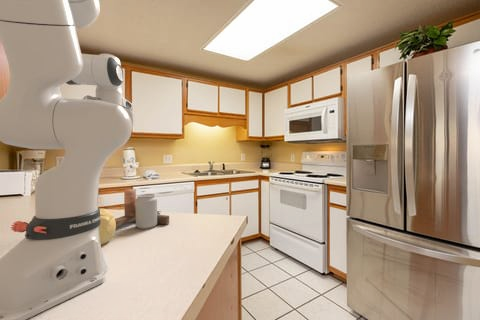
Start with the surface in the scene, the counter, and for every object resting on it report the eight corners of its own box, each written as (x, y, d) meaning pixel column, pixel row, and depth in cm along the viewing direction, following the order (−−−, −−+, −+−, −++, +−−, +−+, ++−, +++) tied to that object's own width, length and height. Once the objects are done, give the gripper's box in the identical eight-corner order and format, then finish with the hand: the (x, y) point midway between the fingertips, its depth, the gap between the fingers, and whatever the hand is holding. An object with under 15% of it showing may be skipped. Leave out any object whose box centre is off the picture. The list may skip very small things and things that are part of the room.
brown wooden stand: (144, 234, 77) (144, 195, 76) (106, 229, 82) (106, 193, 81) (169, 223, 89) (169, 190, 89) (134, 219, 95) (134, 187, 94)
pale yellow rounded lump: (63, 253, 63) (62, 214, 63) (80, 238, 74) (80, 204, 74) (110, 249, 66) (109, 211, 66) (119, 235, 77) (119, 203, 77)
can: (151, 230, 82) (151, 196, 82) (131, 229, 83) (131, 196, 83) (160, 223, 90) (160, 193, 90) (141, 223, 90) (141, 192, 90)
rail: (108, 233, 79) (108, 230, 79) (103, 232, 79) (103, 229, 79) (160, 213, 105) (160, 211, 105) (156, 213, 106) (156, 210, 106)
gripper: (90, 93, 75) (90, 135, 76) (136, 105, 95) (136, 139, 95) (75, 94, 77) (76, 135, 78) (124, 106, 97) (124, 139, 97)
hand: (109, 137), depth 87 cm, fingers open, 8 cm apart
